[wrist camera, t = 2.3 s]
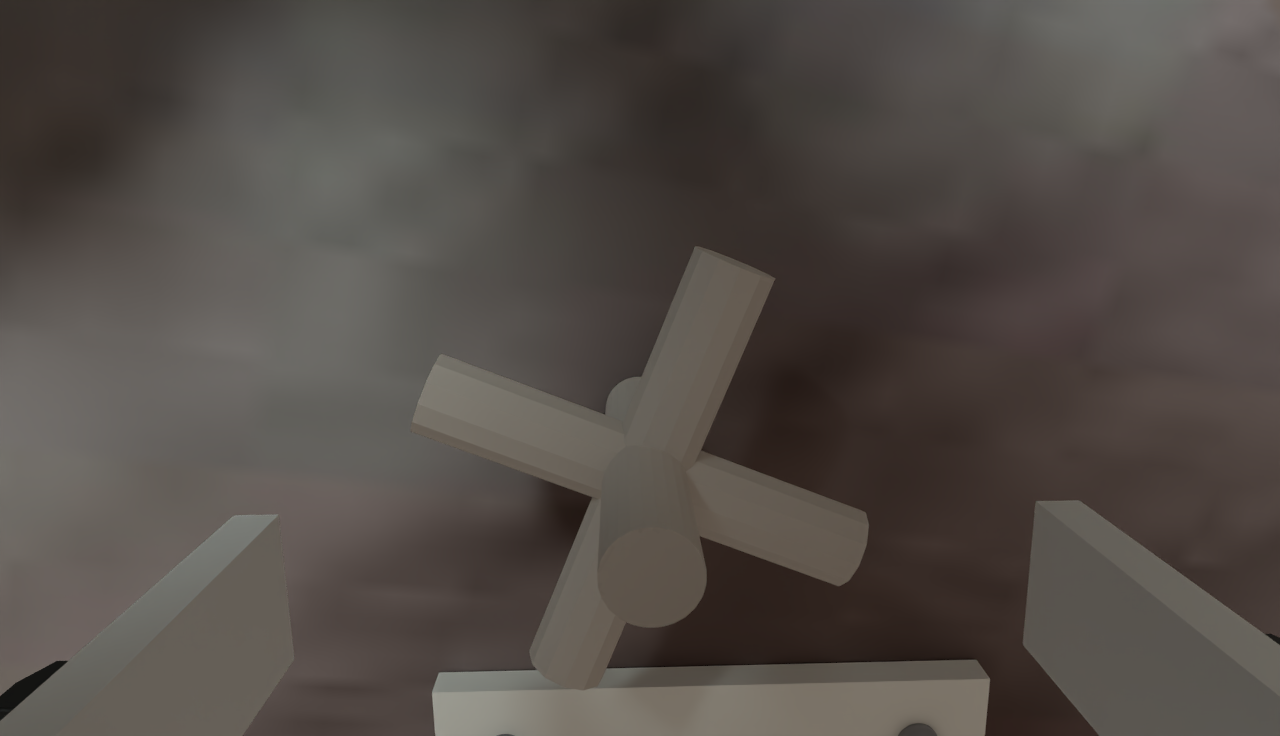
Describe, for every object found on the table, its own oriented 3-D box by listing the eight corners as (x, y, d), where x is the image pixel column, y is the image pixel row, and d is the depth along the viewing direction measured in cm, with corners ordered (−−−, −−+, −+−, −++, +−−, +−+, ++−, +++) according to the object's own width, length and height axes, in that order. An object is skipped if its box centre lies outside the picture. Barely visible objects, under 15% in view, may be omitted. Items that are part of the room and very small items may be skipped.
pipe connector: (879, 307, 24) (1060, 413, 14) (734, 619, 26) (804, 900, 16) (529, 167, 23) (462, 175, 13) (408, 505, 25) (272, 731, 15)
